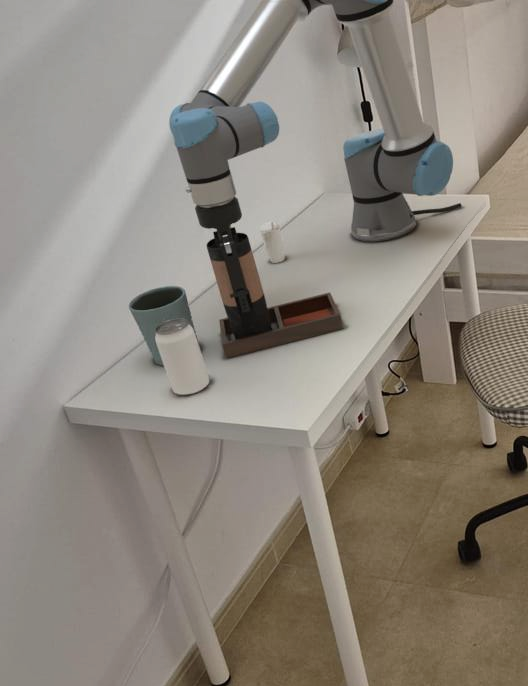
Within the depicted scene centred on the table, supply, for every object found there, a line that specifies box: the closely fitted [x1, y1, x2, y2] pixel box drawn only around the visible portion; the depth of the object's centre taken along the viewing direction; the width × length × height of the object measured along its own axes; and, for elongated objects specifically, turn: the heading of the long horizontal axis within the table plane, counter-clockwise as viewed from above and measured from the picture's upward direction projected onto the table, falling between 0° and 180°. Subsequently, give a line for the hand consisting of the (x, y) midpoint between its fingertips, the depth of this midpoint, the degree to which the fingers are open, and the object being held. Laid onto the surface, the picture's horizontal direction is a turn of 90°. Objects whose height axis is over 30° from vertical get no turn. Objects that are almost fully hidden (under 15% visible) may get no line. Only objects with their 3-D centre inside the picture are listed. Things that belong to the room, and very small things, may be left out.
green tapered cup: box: [128, 285, 201, 367], centre depth 161 cm, size 10×10×12 cm
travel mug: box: [206, 232, 273, 340], centre depth 161 cm, size 8×8×20 cm
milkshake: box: [258, 220, 286, 264], centre depth 197 cm, size 5×5×10 cm
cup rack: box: [218, 291, 344, 359], centre depth 166 cm, size 11×22×3 cm, turn 107°
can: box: [155, 318, 210, 396], centre depth 149 cm, size 6×6×12 cm
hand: (248, 315), depth 164 cm, fingers open, 8 cm apart
